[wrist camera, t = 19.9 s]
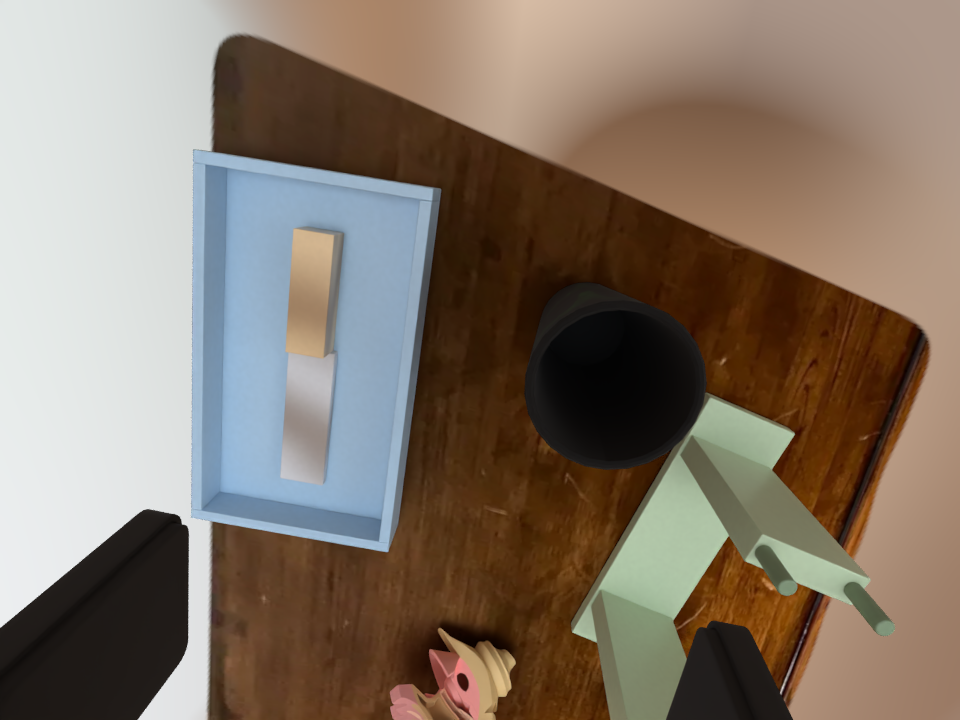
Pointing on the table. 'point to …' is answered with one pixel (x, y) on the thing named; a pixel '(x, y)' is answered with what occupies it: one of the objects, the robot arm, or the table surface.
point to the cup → (612, 378)
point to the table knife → (311, 353)
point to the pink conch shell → (458, 684)
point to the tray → (263, 361)
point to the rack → (706, 553)
